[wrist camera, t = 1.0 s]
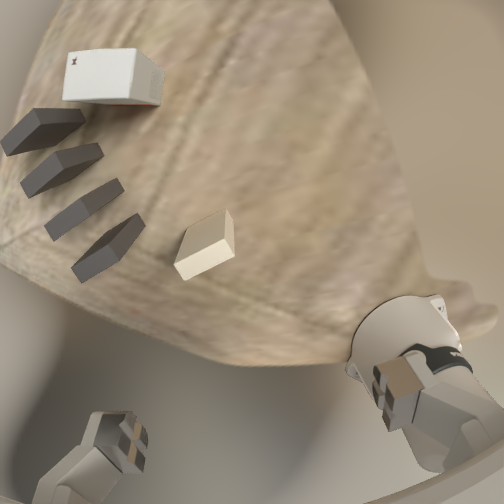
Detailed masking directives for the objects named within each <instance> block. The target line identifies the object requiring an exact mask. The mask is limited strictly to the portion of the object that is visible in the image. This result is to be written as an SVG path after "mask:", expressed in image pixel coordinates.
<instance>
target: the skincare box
mask: <svg viewBox="0 0 504 504" xmlns="http://www.w3.org/2000/svg"><path fill="white" fill-rule="evenodd" d="M164 76H165V70H164V69H163V68H161V67H160V66H159V65H157V64H156V63H155V62H154V61H152V60H151V59H150V58H148V57H147V56H146V55H144V54H143V53H142V52H141V51H139V50H138V49H136V48H118V49H95V50H85V51H76V52H69V53H68V57H67V64H66V72H65V79H64V86H63V96H62V101H70V102H85V103H97V104H107V105H155V106H160V104H161V95H162V89H163V83H164Z"/></svg>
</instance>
